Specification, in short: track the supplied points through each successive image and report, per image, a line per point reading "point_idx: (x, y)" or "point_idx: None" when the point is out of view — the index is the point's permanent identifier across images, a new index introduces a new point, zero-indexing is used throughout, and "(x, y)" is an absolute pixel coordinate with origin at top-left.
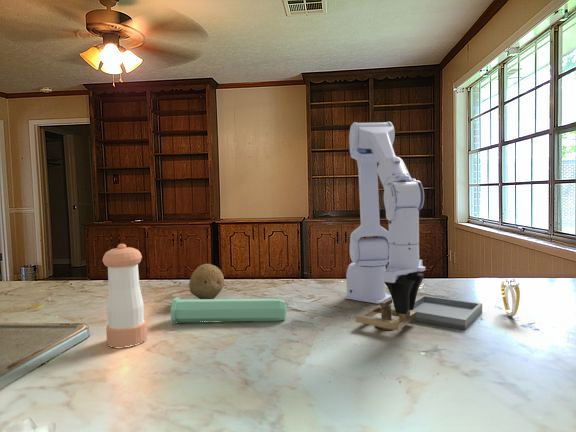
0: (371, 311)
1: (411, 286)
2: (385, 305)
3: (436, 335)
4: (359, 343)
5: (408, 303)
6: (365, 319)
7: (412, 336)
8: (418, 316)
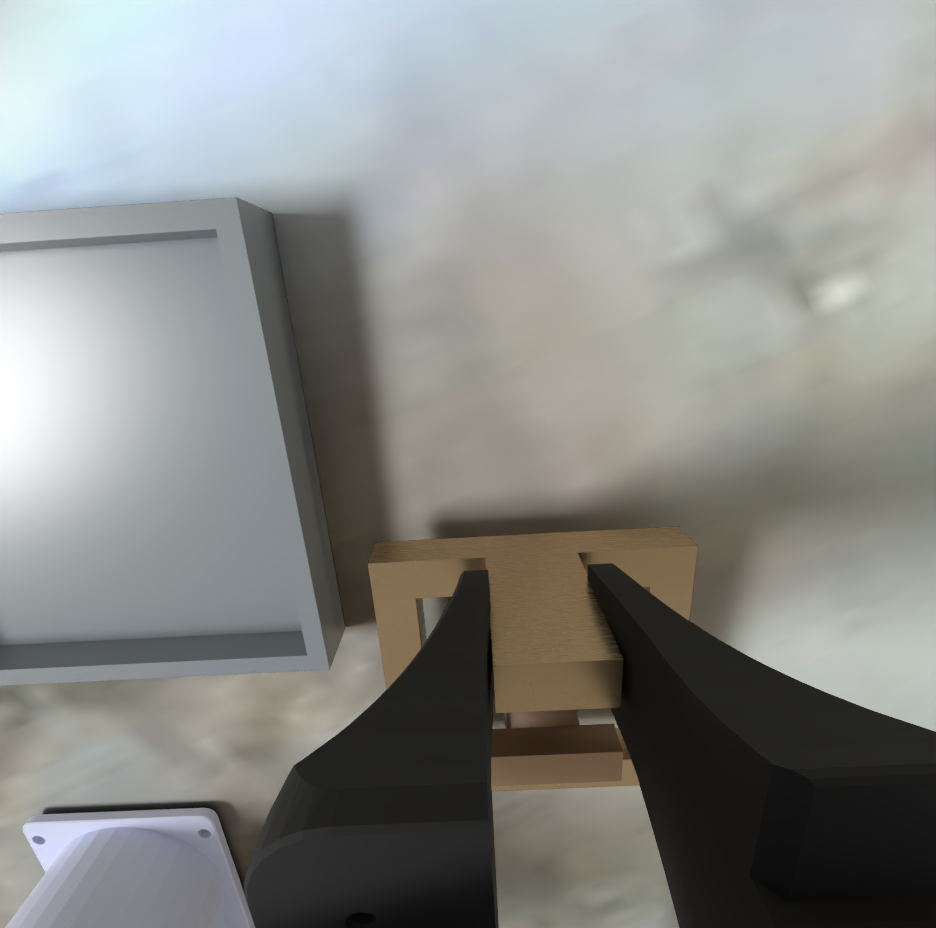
0: None
1: (782, 719)
2: (601, 733)
3: (500, 342)
4: (837, 617)
5: (633, 601)
6: None
7: (599, 453)
8: (319, 547)
